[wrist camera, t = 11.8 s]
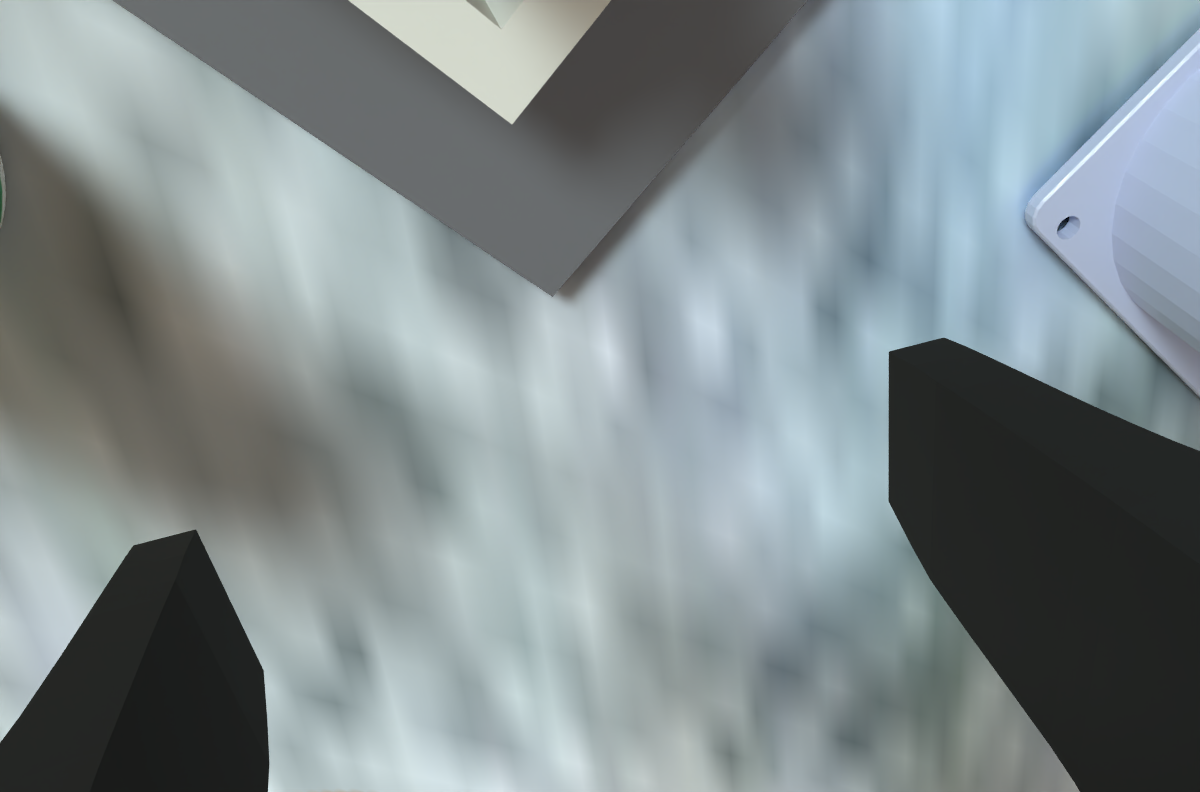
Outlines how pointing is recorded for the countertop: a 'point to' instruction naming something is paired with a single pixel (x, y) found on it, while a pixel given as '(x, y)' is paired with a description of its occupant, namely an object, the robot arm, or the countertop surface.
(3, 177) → the supplement bottle
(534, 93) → the peg socket
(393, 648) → the countertop surface
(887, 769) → the countertop surface
